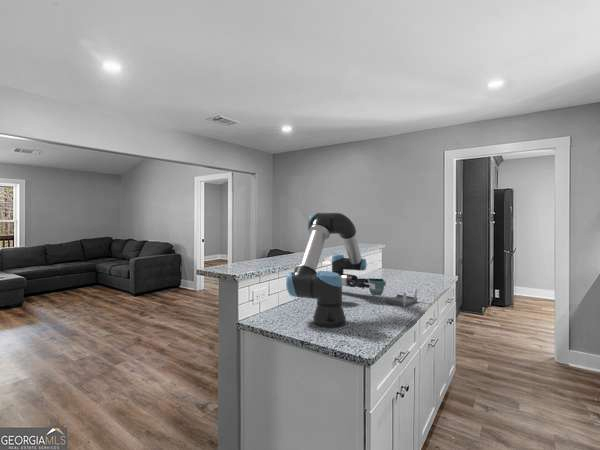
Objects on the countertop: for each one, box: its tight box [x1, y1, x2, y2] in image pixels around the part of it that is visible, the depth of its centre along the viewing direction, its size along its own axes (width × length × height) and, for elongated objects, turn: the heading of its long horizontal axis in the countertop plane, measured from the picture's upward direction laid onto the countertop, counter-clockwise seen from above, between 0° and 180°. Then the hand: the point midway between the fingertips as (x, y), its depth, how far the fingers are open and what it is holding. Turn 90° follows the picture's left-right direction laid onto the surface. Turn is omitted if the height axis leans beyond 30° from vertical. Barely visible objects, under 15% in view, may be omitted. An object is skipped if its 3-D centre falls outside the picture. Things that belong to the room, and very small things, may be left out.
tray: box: [385, 288, 418, 307], centre depth 186 cm, size 15×12×8 cm
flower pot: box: [367, 277, 386, 297], centre depth 191 cm, size 9×9×9 cm
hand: (380, 285), depth 189 cm, fingers closed on flower pot, 11 cm apart
